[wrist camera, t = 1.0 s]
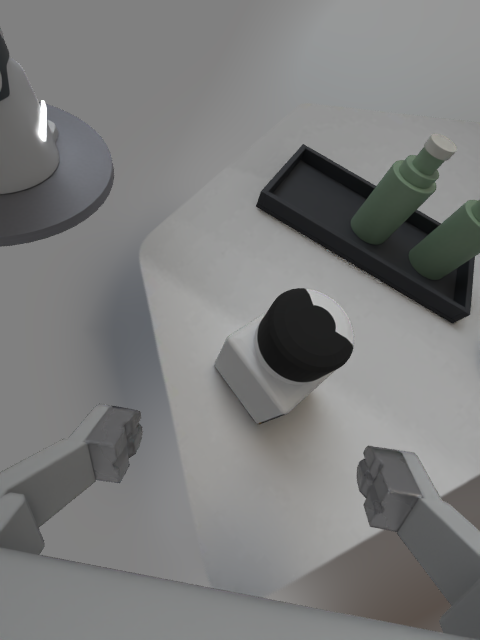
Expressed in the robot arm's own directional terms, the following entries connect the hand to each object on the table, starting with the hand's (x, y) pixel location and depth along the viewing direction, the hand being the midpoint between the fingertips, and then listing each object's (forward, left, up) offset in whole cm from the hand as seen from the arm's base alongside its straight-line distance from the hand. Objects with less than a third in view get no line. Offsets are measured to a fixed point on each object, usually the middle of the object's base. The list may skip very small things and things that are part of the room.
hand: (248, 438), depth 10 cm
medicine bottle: (+1, +9, -16) cm, 18 cm away
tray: (+5, +38, -15) cm, 41 cm away
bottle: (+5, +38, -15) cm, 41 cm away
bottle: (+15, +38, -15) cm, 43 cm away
